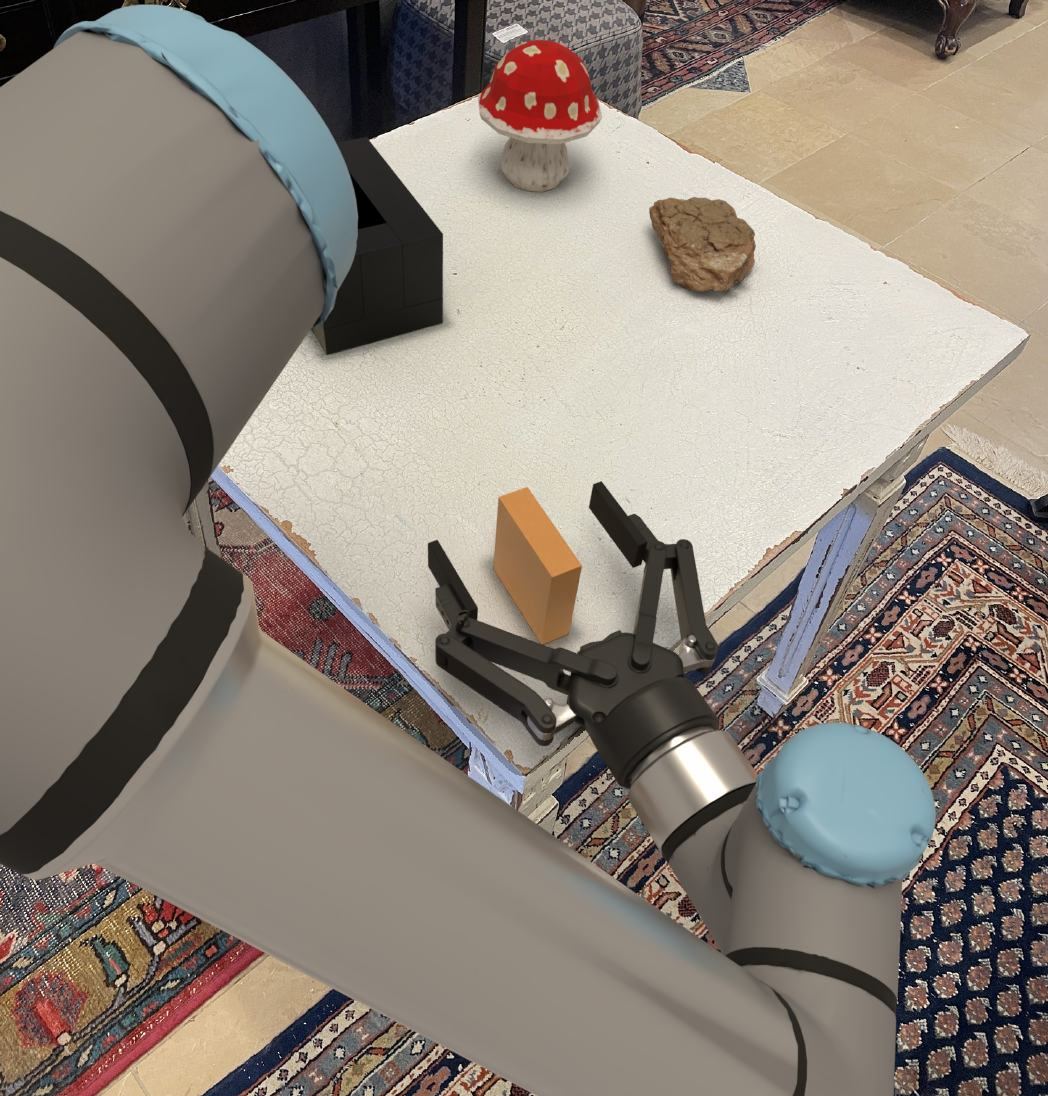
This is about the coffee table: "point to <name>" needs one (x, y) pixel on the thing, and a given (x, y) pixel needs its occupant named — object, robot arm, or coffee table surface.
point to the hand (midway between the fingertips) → (516, 522)
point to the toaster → (385, 260)
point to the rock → (704, 242)
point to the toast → (535, 565)
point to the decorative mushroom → (539, 111)
